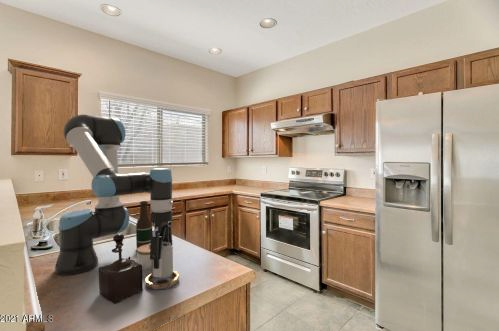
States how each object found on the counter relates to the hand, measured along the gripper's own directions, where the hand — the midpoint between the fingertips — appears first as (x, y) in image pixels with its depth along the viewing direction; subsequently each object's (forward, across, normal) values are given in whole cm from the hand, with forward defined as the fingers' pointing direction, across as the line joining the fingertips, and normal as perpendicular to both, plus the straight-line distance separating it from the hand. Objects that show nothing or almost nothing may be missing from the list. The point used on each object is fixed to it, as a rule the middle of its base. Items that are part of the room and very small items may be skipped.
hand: (162, 271), depth 97 cm
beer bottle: (+4, +33, +23) cm, 40 cm away
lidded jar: (+4, +14, +11) cm, 18 cm away
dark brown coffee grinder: (+4, -7, +13) cm, 15 cm away
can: (+2, 0, 0) cm, 2 cm away
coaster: (+4, 0, 0) cm, 4 cm away
